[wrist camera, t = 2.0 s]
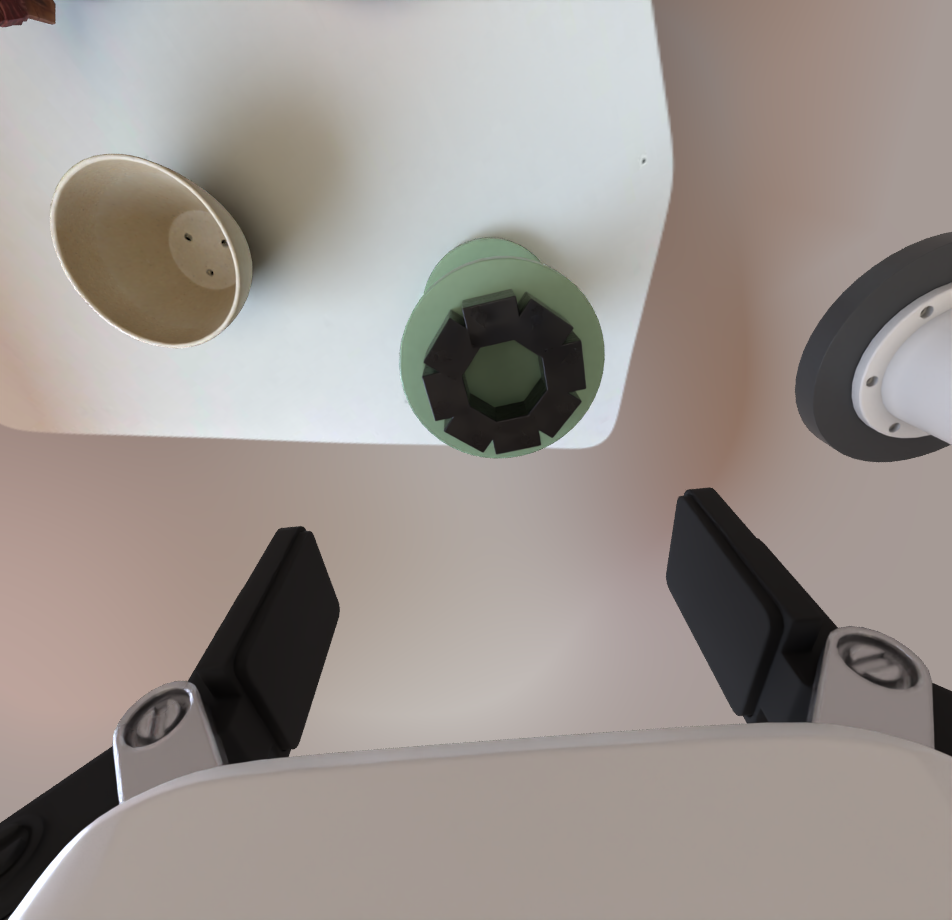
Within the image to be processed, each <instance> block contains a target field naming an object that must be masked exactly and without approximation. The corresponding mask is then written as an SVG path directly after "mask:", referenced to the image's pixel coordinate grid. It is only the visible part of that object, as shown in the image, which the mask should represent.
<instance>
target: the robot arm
mask: <svg viewBox="0 0 952 920" xmlns="http://www.w3.org/2000/svg"><path fill="white" fill-rule="evenodd" d="M852 401H853V407H854V409H855V411H856V413H857V415H858V417H859V418H860V419H861V420H862V421H863V422H864V423H865V424H866V425H867V426H869V427H871V428H873V429H874V430H876V431H878V432H880V433H882V434H884V435H887V436H891V437H898V438H917V437H922V436H927V435H932V436H934V437H937V438H939V439H941V440H943V441H945V442H947V443H949V444H951V445H952V283H949V284H946V285H944V286H941V287H939V288H936V289H934V290H932V291H930V292H928V293H927V294H925V295H923V296H921V297H919V298H918V299H916V300H915V301H913V302H912V303H910V304H909V305H908V306H906V307H905V308H904V309H902V310H901V311H900V312H898V313H897V314H896V315H895V316H894V317H893V318H892V319H891V320H890V321H889V322H888V323H886V324H885V325H884V327H883V328H882V329H881V330H880V331H879V332H878V334H877V335H876V336H875V337H874V338H873V340H872V341H871V343H870V344H869V346H868V347H867V349H866V350H865V352H864V353H863V355H862V357H861V359H860V362H859V364H858V366H857V368H856V371H855V375H854V378H853V382H852ZM666 580H667V585H668V588H669V590H670V592H671V594H672V596H673V598H674V599H675V601H676V603H677V605H678V607H679V609H680V611H681V613H682V615H683V617H684V618H685V620H686V622H687V624H688V626H689V628H690V630H691V632H692V634H693V636H694V638H695V640H696V641H697V643H698V645H699V647H700V649H701V651H702V653H703V655H704V657H705V659H706V661H707V662H708V664H709V666H710V668H711V670H712V672H713V674H714V676H715V678H716V680H717V681H718V683H719V685H720V687H721V689H722V691H723V693H724V695H725V697H726V699H727V701H728V702H729V704H730V706H731V708H732V709H733V711H734V712H735V714H736V715H738V716H743V717H744V719H745V720H746V722H747V724H730V725H710V726H690V727H675V728H662V729H646V730H632V731H618V732H603V733H589V734H574V735H561V736H547V737H534V738H519V739H507V740H506V739H505V740H493V741H479V742H465V743H452V744H439V745H427V746H414V747H401V748H389V749H376V750H363V751H351V752H338V753H326V754H317V755H306V756H296V757H289V754H290V751H291V749H295V748H297V746H298V744H299V742H300V739H301V736H302V733H303V730H304V727H305V723H306V720H307V717H308V713H309V711H310V707H311V704H312V701H313V698H314V695H315V691H316V688H317V685H318V682H319V679H320V676H321V672H322V669H323V666H324V663H325V660H326V656H327V653H328V650H329V647H330V644H331V641H332V637H333V634H334V631H335V628H336V625H337V621H338V618H339V612H340V607H339V602H338V599H337V597H336V594H335V591H334V589H333V586H332V584H331V581H330V578H329V576H328V573H327V570H326V567H325V564H324V562H323V559H322V556H321V554H320V551H319V549H318V546H317V543H316V540H315V538H314V535H313V533H312V532H311V531H306V529H305V528H304V527H302V526H299V527H288V528H280V529H278V531H277V532H276V533H275V535H274V537H273V538H272V540H271V542H270V544H269V545H268V547H267V549H266V550H265V552H264V554H263V556H262V557H261V559H260V561H259V562H258V564H257V566H256V567H255V569H254V571H253V573H252V574H251V576H250V578H249V579H248V581H247V583H246V584H245V586H244V588H243V589H242V590H241V592H240V593H239V595H238V597H237V598H236V600H235V602H234V604H233V605H232V607H231V609H230V610H229V612H228V614H227V616H226V617H225V619H224V621H223V622H222V624H221V626H220V627H219V629H218V631H217V632H216V634H215V636H214V638H213V639H212V641H211V643H210V644H209V646H208V648H207V649H206V651H205V653H204V655H203V656H202V658H201V660H200V661H199V663H198V665H197V666H196V668H195V670H194V671H193V673H192V675H191V677H190V678H189V680H188V681H174V682H171V683H167V684H164V685H162V686H160V687H158V688H156V689H154V690H152V691H150V692H149V693H147V694H146V695H144V696H143V697H142V698H140V699H139V700H138V701H137V702H136V703H135V704H134V705H133V706H132V707H130V708H129V709H128V710H127V712H126V713H125V715H124V716H123V717H122V718H121V720H120V721H119V723H118V725H117V727H116V730H115V732H114V737H113V746H112V747H111V748H109V749H108V750H106V751H105V752H103V753H102V754H100V755H99V756H97V757H96V758H94V759H93V760H92V761H90V762H89V763H87V764H86V765H84V766H83V767H81V768H80V769H78V770H77V771H76V772H74V773H73V774H71V775H70V776H68V777H67V778H65V779H64V780H62V781H61V782H60V783H58V784H56V785H55V786H53V787H52V788H51V789H49V790H48V791H46V792H45V793H43V794H42V795H40V796H39V797H37V798H36V799H34V800H33V801H32V802H30V803H29V804H27V805H26V806H24V807H23V808H21V809H20V810H18V811H17V812H16V813H14V814H13V815H11V816H10V817H8V818H7V819H5V820H4V821H2V822H1V823H0V920H952V691H950V690H948V689H945V688H943V687H941V686H938V685H936V684H934V683H932V680H931V676H930V673H929V670H928V669H927V667H926V666H925V665H924V663H923V662H922V660H921V659H920V658H919V657H918V656H917V655H916V654H915V653H913V652H912V651H911V650H910V649H909V648H907V647H906V646H905V645H903V644H902V643H900V642H899V641H897V640H895V639H894V638H892V637H889V636H887V635H885V634H883V633H880V632H878V631H875V630H871V629H867V628H864V627H854V626H847V627H841V628H838V627H837V626H836V625H835V624H834V623H833V622H832V621H831V619H829V617H828V616H827V615H826V614H825V613H824V612H823V610H822V609H821V608H820V607H819V606H818V605H817V603H816V602H815V601H814V600H813V599H812V598H811V597H810V595H809V594H808V593H807V592H806V591H805V590H804V589H803V587H802V586H801V585H800V584H799V583H798V582H797V581H796V579H795V578H794V577H793V576H792V575H791V574H790V573H789V571H788V570H787V569H786V568H785V567H784V566H783V565H782V563H781V562H780V561H779V560H778V559H777V558H776V557H775V555H774V554H773V553H772V552H771V551H770V550H769V549H768V547H767V546H766V545H765V544H764V543H763V542H762V541H760V539H758V538H756V537H755V536H754V535H753V533H752V532H751V531H750V530H749V529H748V528H747V527H746V525H745V524H744V523H743V522H742V521H741V520H740V519H739V517H738V516H737V515H736V514H735V513H734V512H733V511H732V509H731V508H730V507H729V506H728V505H727V504H726V502H725V501H724V500H723V499H722V498H721V497H720V495H719V494H718V493H717V492H716V491H715V490H714V489H713V488H700V489H689V490H687V491H686V492H685V493H684V496H680V497H679V498H678V500H677V505H676V512H675V519H674V525H673V532H672V539H671V545H670V552H669V558H668V565H667V572H666Z"/></svg>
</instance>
